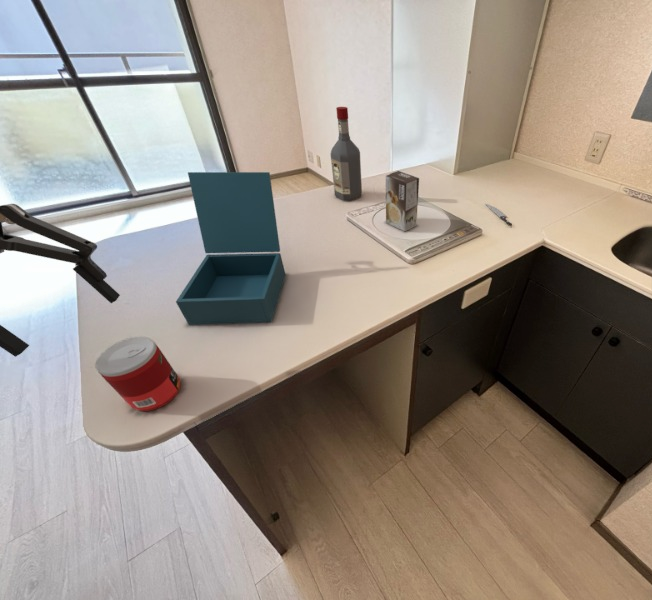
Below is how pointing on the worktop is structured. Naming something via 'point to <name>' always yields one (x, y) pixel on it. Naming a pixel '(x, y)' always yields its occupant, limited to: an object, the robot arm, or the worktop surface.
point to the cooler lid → (235, 211)
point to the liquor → (346, 162)
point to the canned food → (139, 373)
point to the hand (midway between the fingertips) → (71, 324)
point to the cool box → (233, 289)
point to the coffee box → (401, 200)
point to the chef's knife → (499, 214)
